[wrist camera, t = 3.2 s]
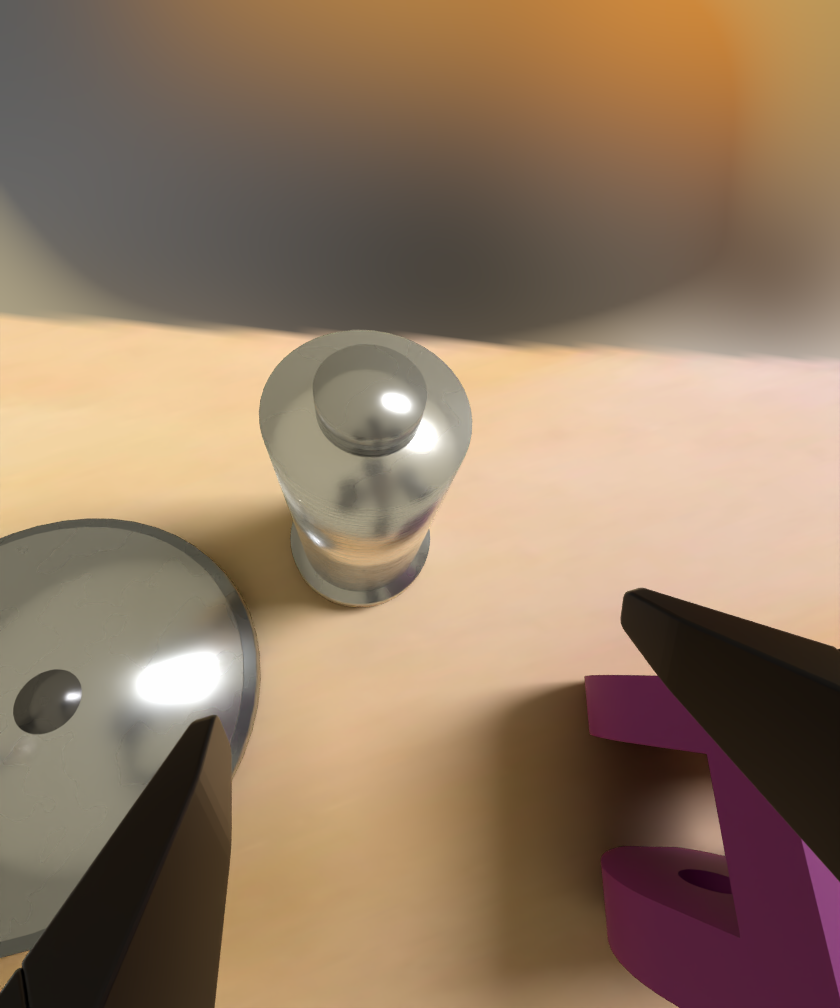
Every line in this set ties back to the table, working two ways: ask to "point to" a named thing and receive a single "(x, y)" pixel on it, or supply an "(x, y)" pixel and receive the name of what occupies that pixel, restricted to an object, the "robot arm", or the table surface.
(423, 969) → the table surface
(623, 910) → the mounting bracket
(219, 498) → the table surface
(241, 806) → the table surface
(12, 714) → the disc
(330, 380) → the silver metal cylinder
